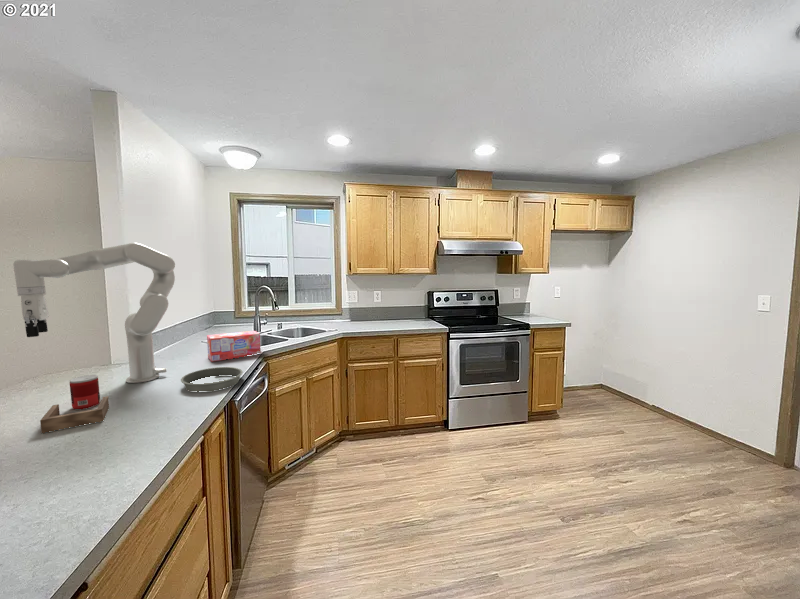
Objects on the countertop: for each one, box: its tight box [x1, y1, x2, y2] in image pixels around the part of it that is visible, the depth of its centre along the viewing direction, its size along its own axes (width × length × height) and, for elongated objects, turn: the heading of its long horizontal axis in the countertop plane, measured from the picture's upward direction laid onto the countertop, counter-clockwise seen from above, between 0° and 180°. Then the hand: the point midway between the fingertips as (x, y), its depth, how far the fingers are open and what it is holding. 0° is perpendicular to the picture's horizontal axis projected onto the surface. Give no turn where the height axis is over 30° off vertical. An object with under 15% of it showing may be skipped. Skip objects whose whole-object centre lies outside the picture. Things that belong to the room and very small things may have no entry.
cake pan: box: [180, 366, 244, 393], centre depth 154 cm, size 25×25×4 cm
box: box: [206, 330, 262, 363], centre depth 200 cm, size 27×13×14 cm, turn 127°
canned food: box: [68, 374, 101, 410], centre depth 129 cm, size 8×8×11 cm
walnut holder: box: [39, 395, 110, 434], centre depth 118 cm, size 15×14×4 cm
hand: (37, 334), depth 134 cm, fingers open, 9 cm apart
